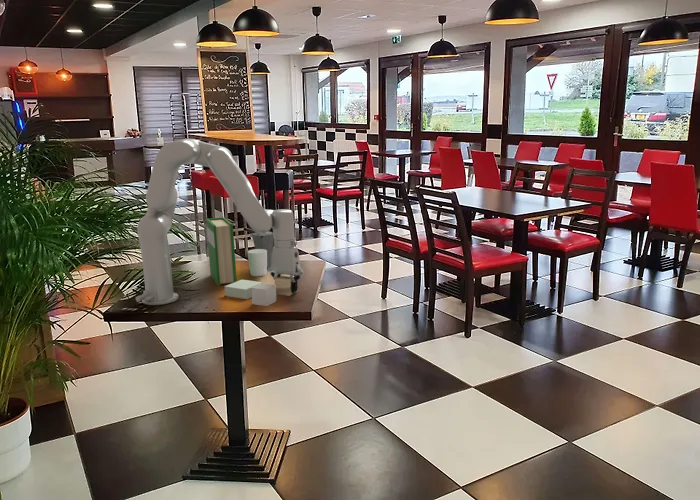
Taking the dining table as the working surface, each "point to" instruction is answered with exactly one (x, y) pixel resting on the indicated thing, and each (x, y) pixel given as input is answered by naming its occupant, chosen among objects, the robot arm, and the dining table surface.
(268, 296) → the grey cube
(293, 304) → the dining table surface
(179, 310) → the dining table surface
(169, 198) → the robot arm
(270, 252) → the coffeepot
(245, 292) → the base block
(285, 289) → the maple cube
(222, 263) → the hardback book
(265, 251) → the white cup
